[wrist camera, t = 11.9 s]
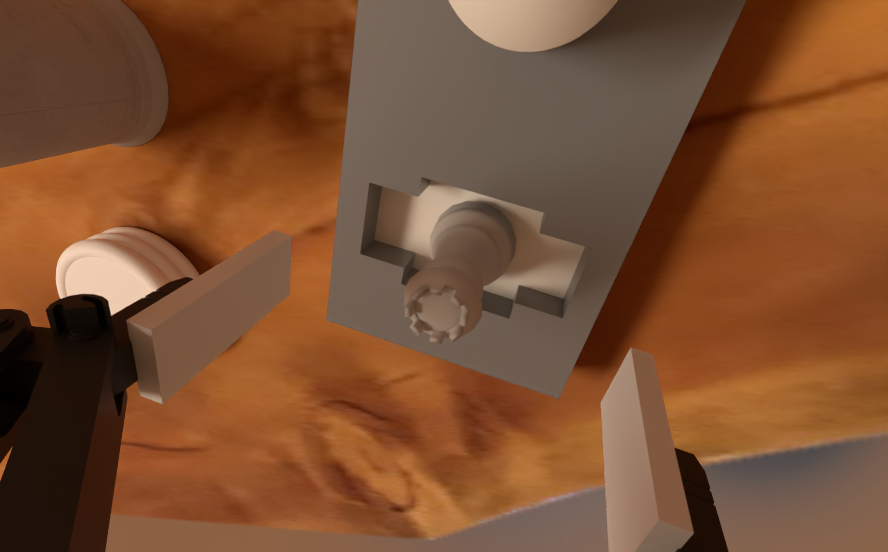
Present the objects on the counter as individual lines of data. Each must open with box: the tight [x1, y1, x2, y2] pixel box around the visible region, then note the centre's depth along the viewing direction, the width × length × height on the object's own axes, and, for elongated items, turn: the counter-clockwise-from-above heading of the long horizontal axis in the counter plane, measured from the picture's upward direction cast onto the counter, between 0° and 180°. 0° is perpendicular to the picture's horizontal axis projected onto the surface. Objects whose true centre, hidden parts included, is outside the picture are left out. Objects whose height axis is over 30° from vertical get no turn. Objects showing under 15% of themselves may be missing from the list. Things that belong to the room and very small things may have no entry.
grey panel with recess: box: [327, 0, 746, 399], centre depth 18 cm, size 14×26×8 cm, turn 168°
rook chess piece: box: [404, 201, 516, 344], centre depth 21 cm, size 4×4×8 cm
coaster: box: [56, 227, 200, 316], centre depth 32 cm, size 10×10×4 cm
